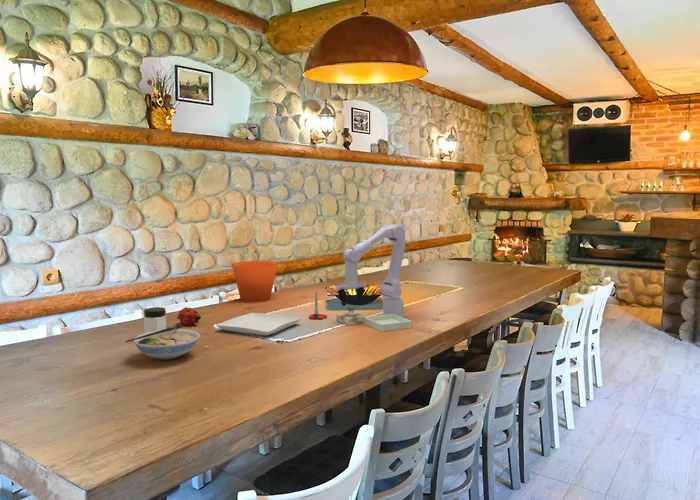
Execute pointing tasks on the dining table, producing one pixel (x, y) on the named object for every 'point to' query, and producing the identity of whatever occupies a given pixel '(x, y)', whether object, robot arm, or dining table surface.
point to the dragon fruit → (188, 316)
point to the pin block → (350, 318)
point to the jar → (154, 319)
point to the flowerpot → (255, 279)
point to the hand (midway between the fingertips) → (351, 304)
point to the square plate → (258, 323)
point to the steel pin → (351, 310)
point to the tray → (387, 322)
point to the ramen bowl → (166, 342)
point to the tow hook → (316, 315)
